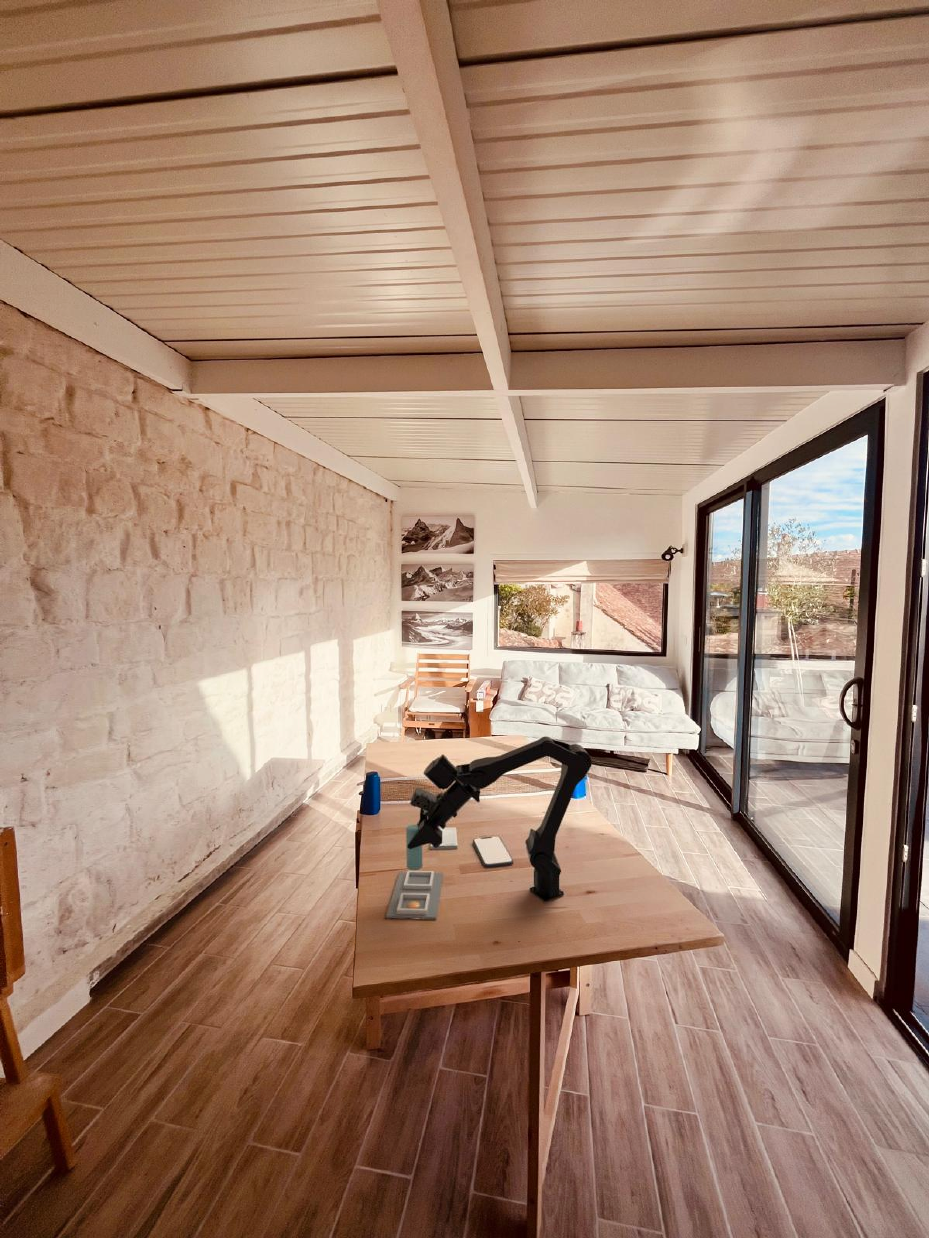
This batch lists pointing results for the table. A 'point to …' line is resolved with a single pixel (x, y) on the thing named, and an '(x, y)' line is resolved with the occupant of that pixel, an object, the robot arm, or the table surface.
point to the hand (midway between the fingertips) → (408, 843)
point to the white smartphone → (492, 852)
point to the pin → (413, 850)
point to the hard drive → (448, 839)
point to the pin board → (416, 895)
